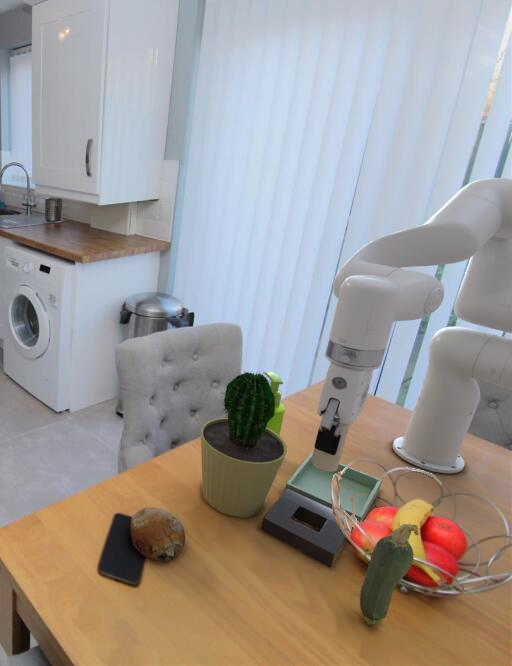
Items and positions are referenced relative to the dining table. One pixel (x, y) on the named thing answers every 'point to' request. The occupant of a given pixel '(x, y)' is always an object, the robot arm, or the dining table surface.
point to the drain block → (300, 536)
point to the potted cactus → (241, 448)
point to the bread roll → (157, 534)
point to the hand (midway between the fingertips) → (329, 444)
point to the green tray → (319, 485)
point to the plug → (328, 460)
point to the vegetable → (386, 572)
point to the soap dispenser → (280, 407)
